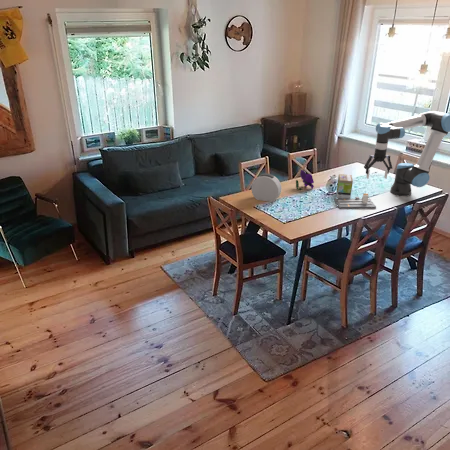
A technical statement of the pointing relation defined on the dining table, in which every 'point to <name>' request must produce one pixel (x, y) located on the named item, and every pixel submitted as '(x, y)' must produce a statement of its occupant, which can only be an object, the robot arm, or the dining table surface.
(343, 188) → the tea box
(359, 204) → the console
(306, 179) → the flower
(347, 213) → the dining table surface
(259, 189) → the alarm clock
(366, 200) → the fader
